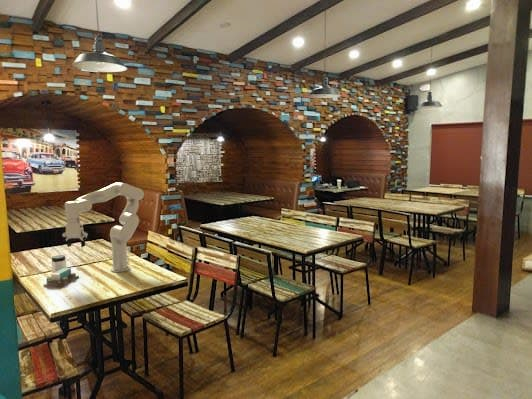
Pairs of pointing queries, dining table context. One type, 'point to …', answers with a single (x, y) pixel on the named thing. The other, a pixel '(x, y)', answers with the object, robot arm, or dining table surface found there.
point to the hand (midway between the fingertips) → (76, 246)
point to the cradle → (63, 281)
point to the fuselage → (61, 274)
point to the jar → (58, 263)
